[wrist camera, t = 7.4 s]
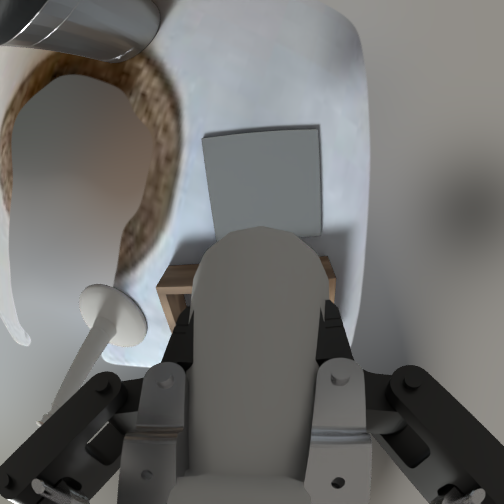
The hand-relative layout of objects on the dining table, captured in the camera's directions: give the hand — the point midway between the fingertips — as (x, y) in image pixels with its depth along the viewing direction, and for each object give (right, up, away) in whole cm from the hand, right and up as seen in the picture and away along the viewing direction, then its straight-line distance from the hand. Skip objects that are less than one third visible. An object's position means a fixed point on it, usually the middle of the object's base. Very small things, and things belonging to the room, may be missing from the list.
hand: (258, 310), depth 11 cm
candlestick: (-23, -8, +29) cm, 38 cm away
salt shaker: (0, +2, +3) cm, 4 cm away
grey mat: (+1, +9, +18) cm, 21 cm away
